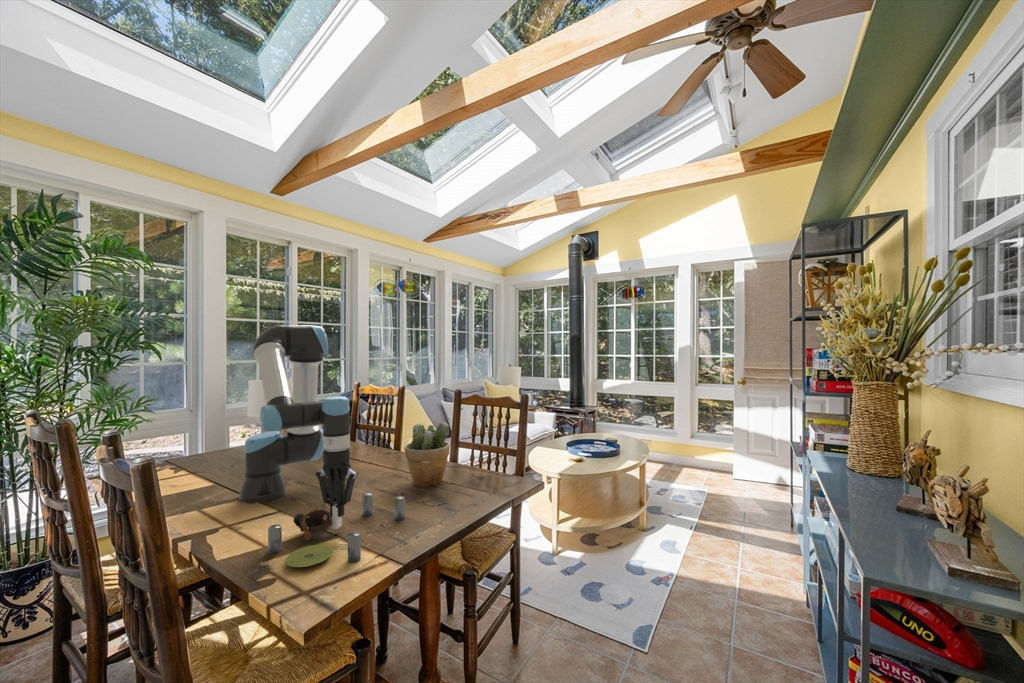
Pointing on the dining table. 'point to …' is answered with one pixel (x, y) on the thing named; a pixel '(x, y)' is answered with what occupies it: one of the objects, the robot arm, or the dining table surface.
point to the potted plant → (428, 454)
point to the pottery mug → (313, 523)
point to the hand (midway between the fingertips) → (337, 526)
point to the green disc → (308, 556)
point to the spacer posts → (353, 537)
